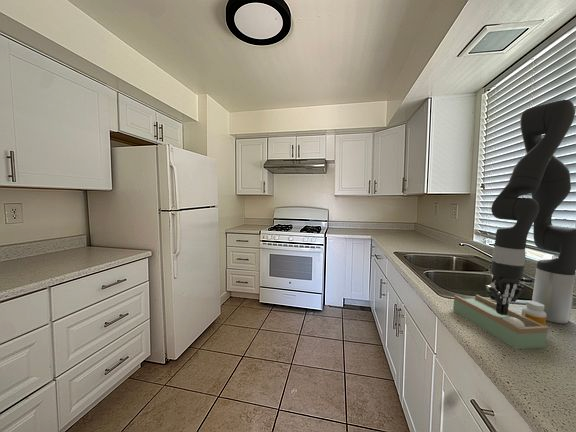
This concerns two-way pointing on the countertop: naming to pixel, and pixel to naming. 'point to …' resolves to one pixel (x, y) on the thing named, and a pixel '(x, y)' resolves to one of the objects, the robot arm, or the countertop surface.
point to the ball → (514, 321)
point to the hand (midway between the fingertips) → (501, 313)
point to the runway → (501, 323)
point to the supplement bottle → (534, 312)
